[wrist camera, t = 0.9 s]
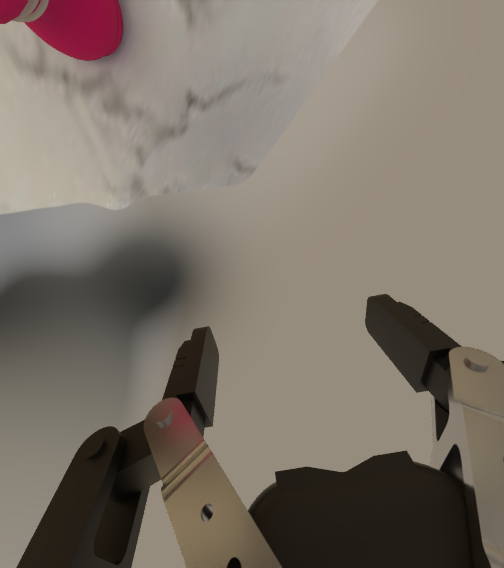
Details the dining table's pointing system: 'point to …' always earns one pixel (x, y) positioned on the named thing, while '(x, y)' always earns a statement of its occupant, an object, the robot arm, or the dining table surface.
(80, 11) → the pepper mill
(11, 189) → the dining table surface
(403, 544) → the robot arm
